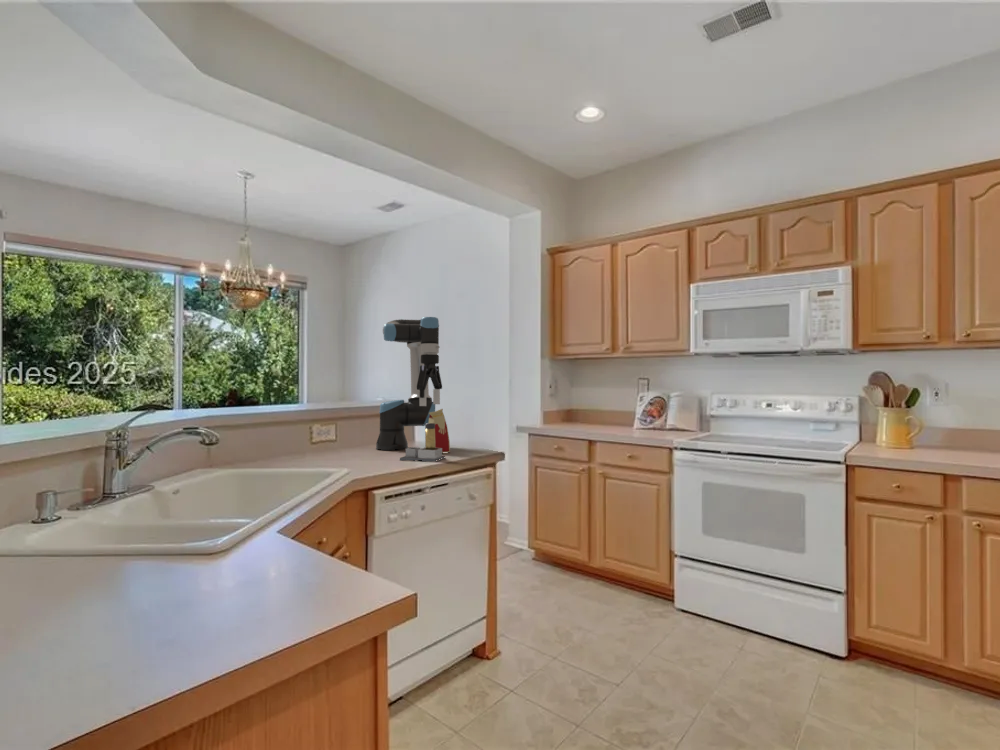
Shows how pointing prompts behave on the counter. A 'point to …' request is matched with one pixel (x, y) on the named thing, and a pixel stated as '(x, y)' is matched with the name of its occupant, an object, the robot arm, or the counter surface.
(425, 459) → the manifold plate
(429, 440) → the brass valve
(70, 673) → the counter surface
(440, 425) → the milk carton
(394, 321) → the robot arm
